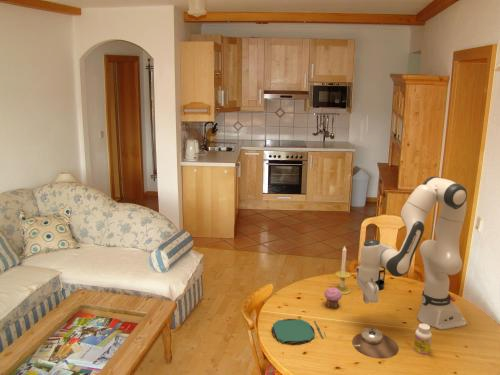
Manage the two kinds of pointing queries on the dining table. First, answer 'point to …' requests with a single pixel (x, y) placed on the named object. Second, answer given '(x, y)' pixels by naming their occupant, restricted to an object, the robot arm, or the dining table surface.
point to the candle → (343, 275)
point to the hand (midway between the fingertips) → (365, 302)
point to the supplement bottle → (422, 339)
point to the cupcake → (333, 297)
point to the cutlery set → (294, 331)
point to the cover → (372, 336)
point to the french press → (381, 280)
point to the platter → (376, 347)
